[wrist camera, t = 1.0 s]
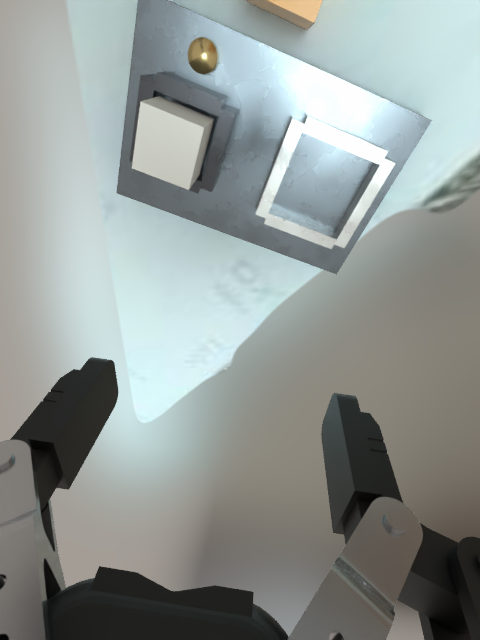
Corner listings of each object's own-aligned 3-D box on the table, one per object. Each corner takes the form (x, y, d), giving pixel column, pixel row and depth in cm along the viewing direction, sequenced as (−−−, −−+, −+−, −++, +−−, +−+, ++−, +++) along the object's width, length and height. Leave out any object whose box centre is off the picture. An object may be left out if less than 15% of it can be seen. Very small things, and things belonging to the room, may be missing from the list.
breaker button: (149, 155, 26) (131, 168, 22) (159, 96, 23) (140, 101, 20) (199, 174, 26) (188, 189, 23) (214, 118, 24) (204, 127, 21)
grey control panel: (124, 186, 32) (102, 204, 28) (148, -8, 23) (122, -22, 19) (333, 264, 35) (340, 290, 31) (422, 116, 26) (447, 126, 22)
